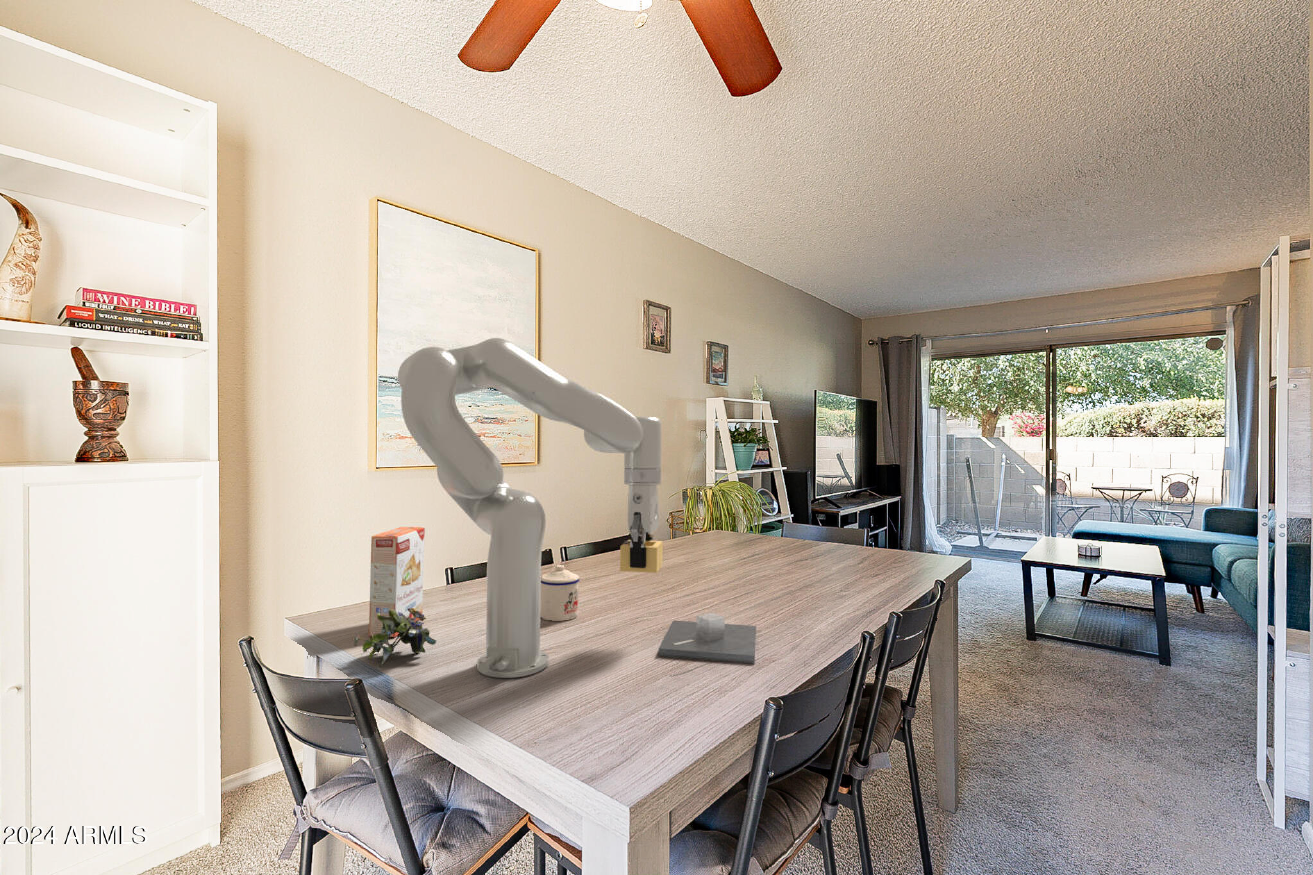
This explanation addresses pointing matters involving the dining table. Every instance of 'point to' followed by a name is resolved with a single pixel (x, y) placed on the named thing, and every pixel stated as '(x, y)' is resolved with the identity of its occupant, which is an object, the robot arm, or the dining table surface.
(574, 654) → the dining table surface
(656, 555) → the collar
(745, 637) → the post plate
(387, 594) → the cracker box
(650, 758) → the dining table surface
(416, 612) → the passion flower
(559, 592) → the teacup with lid
